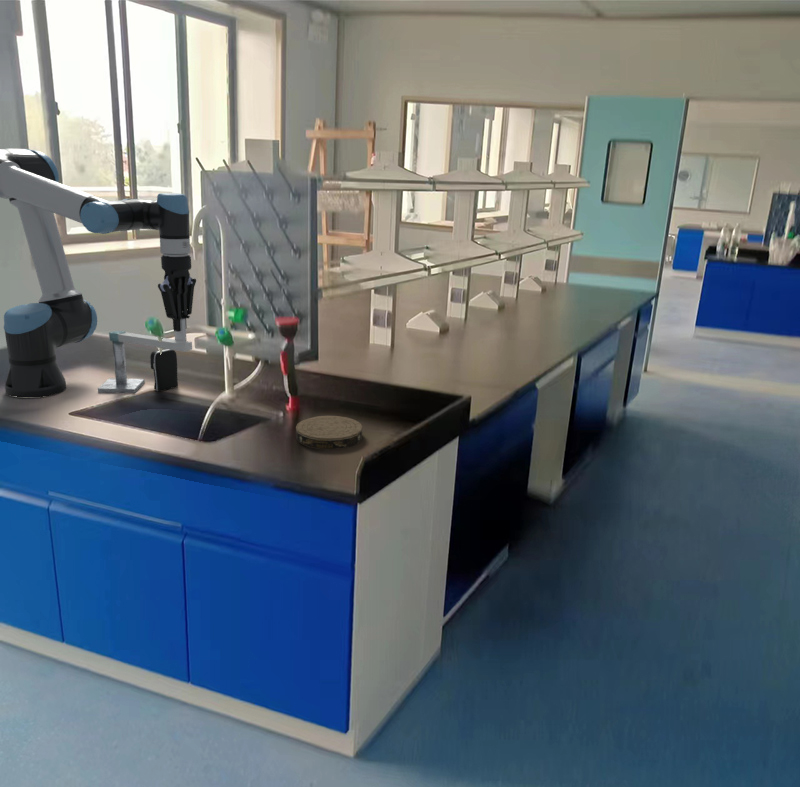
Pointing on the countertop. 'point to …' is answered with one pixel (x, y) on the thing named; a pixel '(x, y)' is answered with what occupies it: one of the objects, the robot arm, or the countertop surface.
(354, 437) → the grey round disc
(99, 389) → the post
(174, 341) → the swing arm
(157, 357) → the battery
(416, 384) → the countertop surface
